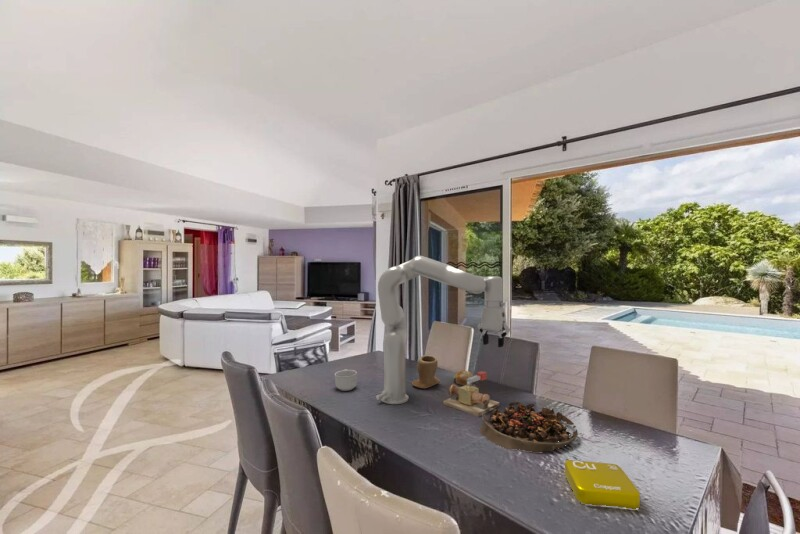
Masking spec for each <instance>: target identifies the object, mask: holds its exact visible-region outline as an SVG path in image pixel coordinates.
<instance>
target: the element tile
mask: <svg viewBox="0 0 800 534" xmlns="http://www.w3.org/2000/svg"><path fill="white" fill-rule="evenodd" d="M565 475H566V477H565V479H566V478H567V480H568V482H569V484H570V486H571V488H572V490H573V492H572V494H573V493H574V494H573V496H574V495H575V496H574V498H575V497H576V498H577V500H579V501H580V502H582V503H585V504H592V505H606V506H618V507H626V508H632V509H636V508H639V507H640V506H641V505H640V504H641V503H640V501H641V492H640V491H639V490H638V488H637V486H636V485H635V484H634V483H633V482H632V481H631V479H630V478H629V476H628V475H627V473H626V472H625V471H624V470H623V469H622V467H620V466H619V465H618V464H615V463H610V462H609V463H607V462H596V461H584V460H574V459H573V460H572V459H567V460H565V462H564V476H565ZM567 480H566V481H567ZM568 482H567V483H568ZM569 484H568V485H569ZM570 486H569V487H570ZM571 488H570V489H571ZM572 490H571V491H572ZM576 498H575V499H576ZM577 500H576V501H577ZM640 508H641V507H640Z"/></svg>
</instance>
